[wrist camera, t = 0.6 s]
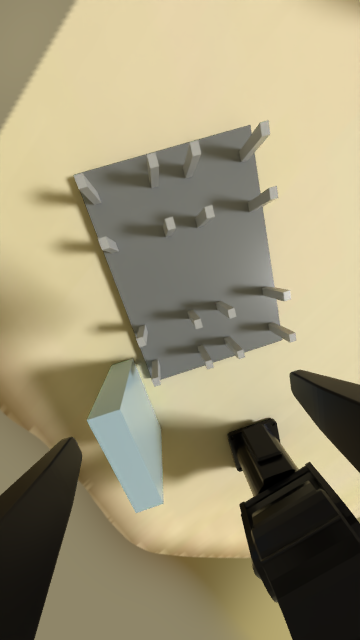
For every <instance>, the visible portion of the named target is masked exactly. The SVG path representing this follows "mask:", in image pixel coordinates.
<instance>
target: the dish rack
mask: <svg viewBox="0 0 360 640" xmlns="http://www.w3.org/2000/svg"><path fill="white" fill-rule="evenodd" d="M269 135H270V129H269V121H264V122H260V123H259V125H258V126H257V128H256V129H255V130H254V132H253V133H251V126H250V125H248V126H244V127H241V128H237V129H234V130H230V131H227V132H223V133H220V134H216V135H213V136H209V137H206V138H202V139H199V140H195V141H192V142H188V143H184V144H181V145H177V146H174V147H170V148H167V149H163V150H160V151H156V152H153V153H149V154H146V155H142V156H139V157H135V158H132V159H128V160H124V161H121V162H117V163H114V164H110V165H107V166H103V167H100V168H96V169H93V170H89V171H86V172H82V173H79V174H75V175H73V176H74V178H75V181H76V184H77V186H78V189H79V190H80V192H81V195H82V197H83V200H84V203H85V205H86V208H87V210H88V213H89V216H90V218H91V221H92V223H93V226H94V229H95V231H96V234H97V237H98V241H99V244H100V246H101V249H102V250H103V252H104V255H105V257H106V260H107V263H108V265H109V268H110V271H111V273H112V276H113V278H114V281H115V284H116V286H117V289H118V291H119V294H120V297H121V299H122V302H123V304H124V307H125V310H126V312H127V315H128V318H129V320H130V323H131V325H132V328H133V331H134V333H135V336H136V340H137V343H138V345H139V347H140V349H141V351H142V354H143V357H144V359H145V362H146V365H147V367H148V370H149V372H150V375H151V378H152V382H153V384H154V387H155V386H158V385H161V379H164V378H167V377H170V376H173V375H176V374H179V373H183V372H186V371H189V370H192V369H195V368H198V367H201V366H204V365H205V366H206V368H207V369H210V368H214V366H213V362H216V361H220V360H223V359H226V358H229V357H232V356H236V357H237V358H238V359H241V358H244V357H245V355H244V352H247V351H250V350H253V349H257V348H260V347H263V346H266V345H269V344H272V343H275V342H278V341H281V340H282V338H283V339H285V340H287V341H288V342H293V341H296V334H295V332H293V331H291V330H289V329H286V328H284V327H282V326H280V321H279V314H278V307H277V301H276V299H278V300H282V301H287V300H290V299H291V295H290V290H285V289H280V288H275V287H274V281H273V274H272V267H271V260H270V254H269V247H268V240H267V234H266V227H265V220H264V214H263V206H264V205H266V204H268V203H270V202H271V201H273V200H275V199H277V198H278V192H277V186H274V187H271V188H268V189H267V190H266V191H264V192H263V193H260V187H259V180H258V173H257V167H256V160H255V153H254V152H255V151H256V150H257V149H258V148H259V147H260V145H261V144H262V143H263V142H264V141H265V140H266V138H267V137H268V136H269Z"/></svg>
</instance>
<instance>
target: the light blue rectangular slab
mask: <svg viewBox="0 0 360 640" xmlns="http://www.w3.org/2000/svg"><path fill="white" fill-rule="evenodd" d="M87 422H88V424H89V426H90V428H91V430H92V431H93V433H94V435H95V437H96V439H97V441H98V443H99V445H100V446H101V448H102V450H103V452H104V454H105V456H106V458H107V460H108V461H109V463H110V465H111V467H112V469H113V471H114V473H115V475H116V476H117V478H118V480H119V482H120V484H121V486H122V488H123V490H124V491H125V493H126V495H127V497H128V499H129V501H130V503H131V505H132V506H133V508H134V510H135V512H136V513H138V512H141V511H144V510H146V509H149V508H152V507H155V506H158V505H161V504H164V503H163V470H162V437H161V427H160V424H159V422H158V419H157V417H156V414H155V412H154V409H153V407H152V404H151V402H150V399H149V397H148V394H147V392H146V390H145V387H144V385H143V382H142V380H141V377H140V375H139V372H138V370H137V367H136V365H135V362H134V360H133V359H130V360H126V361H123V362H120V363H117V364H114V365H111V368H110V370H109V372H108V374H107V376H106V379H105V381H104V383H103V385H102V387H101V390H100V392H99V394H98V396H97V398H96V401H95V403H94V405H93V407H92V410H91V412H90V414H89V416H88V418H87Z"/></svg>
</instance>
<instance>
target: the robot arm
mask: <svg viewBox="0 0 360 640" xmlns="http://www.w3.org/2000/svg"><path fill="white" fill-rule="evenodd" d="M290 383H291V390H292V393H293V395H294V396H295V398H296V399H297V400H298V401H299V403H300V404H301V405H302V407H303V408H304V409H305V411H306V412H307V413H308V415H309V416H310V417H311V418H312V420H313V421H314V422H315V424H316V425H317V426H318V427H319V429H320V430H321V431H322V432H323V433H324V434H325V436H326V437H327V438H328V439H329V440H330V441H331V442H332V443H333V444H334V445H335V446H336V448H337V449H338V450H339V451H340V452H341V453H342V454H343V455H344V456H345V457H346V458H347V460H348V461H349V462H350V463H351V464H352V465H353V466H354V467H355V468H356V469H357V470H358V472H359V473H360V385H359V384H355V383H351V382H347V381H343V380H339V379H335V378H331V377H327V376H323V375H319V374H315V373H311V372H308V371H304V370H297V371H293V372H291V373H290ZM228 440H229V444H230V447H231V451H232V455H233V458H234V462H235V465H236V468H237V470H238V471H239V472H240V471H243V472H244V474H245V477H246V479H247V482H248V484H249V486H250V489H251V491H252V493H253V496H254V497H253V498H251V499H249V500H248V501H246V502H242V503H240V504H239V505H240V509H241V517H242V521H243V525H244V529H245V534H246V538H247V542H248V546H249V550H250V554H251V558H252V566H253V570H254V573H255V575H256V576H257V577H258V578H260V579H261V580H262V581H263V583H264V586H265V587H266V589H267V591H268V593H269V595H270V596H271V598H272V599H273V600H274V601H275V602H278V603H279V606H280V608H281V610H282V613H283V615H284V618H285V621H286V623H287V626H288V629H289V631H290V634H291V637H292V639H293V640H360V523H359V522H358V521H357V519H356V518H355V516H354V515H353V514H352V513H351V511H350V510H349V509H348V507H347V506H346V505H345V504H344V502H343V501H342V500H341V499H340V497H339V496H338V495H337V494H336V493H335V491H334V490H333V489H332V488H331V487H330V485H329V484H328V483H327V482H326V481H325V479H324V478H323V477H322V476H321V475H320V473H319V472H318V471H317V470H316V469H315V467H314V466H313V465H312V464H311V463H310V462H308V463H307V464H305V465H306V466H304V467H302V468H301V469H298V468H297V466H296V465H295V464H294V462H293V461H292V459H291V458H290V456H289V455H288V454H287V452H286V451H285V449H284V448H283V446H282V445H281V444H280V439H279V433H278V428H277V423H276V421H275V420H274V419H269V420H266V421H263V422H260V423H257V424H254V425H251V426H248V427H245V428H243V429H240V430H237V431H234V432H231V433H229V434H228ZM81 461H82V452H81V450H80V448H79V446H78V444H77V442H76V440H75V438H73V437H69V438H66V439H62V440H61V441H60V442H58V443H57V444H56V445H55V446H54V447H53V448H52V449H51V450H50V451H49V452H48V453H46V454H45V455H44V456H43V457H42V458H41V459H40V460H39V461H38V462H37V463H35V464H34V465H33V466H32V467H31V468H30V469H29V470H28V471H27V472H26V473H24V474H23V475H22V476H21V477H20V478H19V479H18V480H17V481H16V482H15V483H14V484H12V485H11V486H10V487H9V488H8V489H7V490H6V491H5V492H4V493H3V494H1V495H0V640H34V638H35V635H36V631H37V628H38V624H39V621H40V617H41V614H42V610H43V607H44V603H45V600H46V596H47V593H48V589H49V586H50V583H51V579H52V576H53V572H54V569H55V565H56V562H57V558H58V555H59V551H60V548H61V544H62V541H63V537H64V534H65V530H66V527H67V523H68V520H69V516H70V513H71V509H72V505H73V501H74V496H75V491H76V486H77V481H78V476H79V471H80V466H81Z"/></svg>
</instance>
